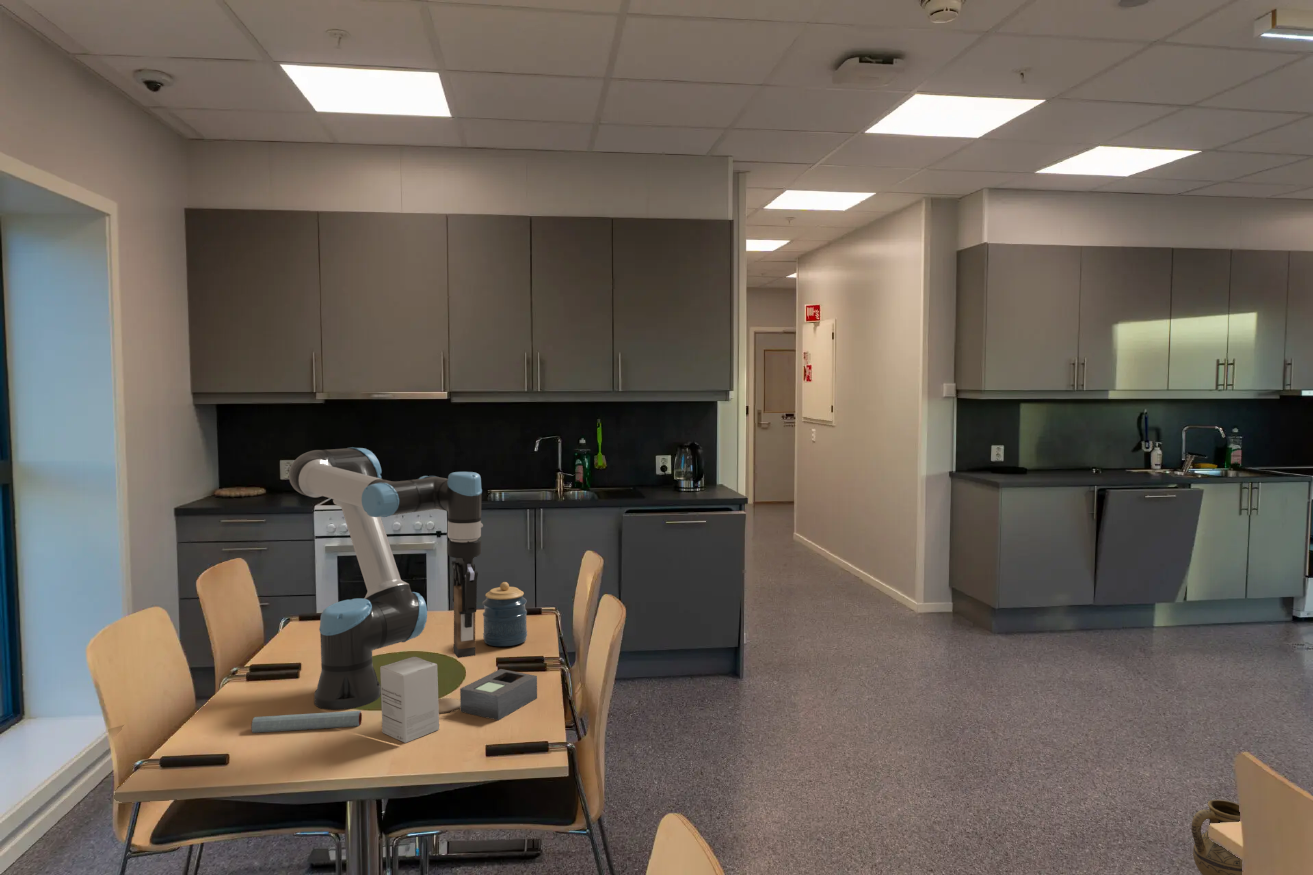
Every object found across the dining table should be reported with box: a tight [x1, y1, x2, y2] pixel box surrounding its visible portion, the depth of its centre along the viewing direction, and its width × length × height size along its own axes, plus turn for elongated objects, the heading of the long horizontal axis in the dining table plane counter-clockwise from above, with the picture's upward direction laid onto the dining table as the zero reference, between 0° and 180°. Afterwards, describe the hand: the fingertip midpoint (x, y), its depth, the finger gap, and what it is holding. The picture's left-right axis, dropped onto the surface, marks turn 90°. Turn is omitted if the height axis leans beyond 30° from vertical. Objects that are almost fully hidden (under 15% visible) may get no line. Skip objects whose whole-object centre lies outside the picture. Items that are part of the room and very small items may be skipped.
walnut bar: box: [453, 586, 476, 659], centre depth 191 cm, size 4×4×16 cm
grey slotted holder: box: [459, 668, 538, 721], centre depth 194 cm, size 11×15×6 cm
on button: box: [476, 682, 505, 693], centre depth 191 cm, size 5×5×2 cm
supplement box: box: [379, 656, 440, 744], centre depth 179 cm, size 9×9×15 cm
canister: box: [482, 581, 528, 647], centre depth 244 cm, size 13×13×18 cm
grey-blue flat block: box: [250, 710, 363, 734], centre depth 183 cm, size 23×7×3 cm, turn 99°
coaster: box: [438, 697, 461, 715], centre depth 193 cm, size 8×8×1 cm
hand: (464, 636), depth 192 cm, fingers closed on walnut bar, 4 cm apart
